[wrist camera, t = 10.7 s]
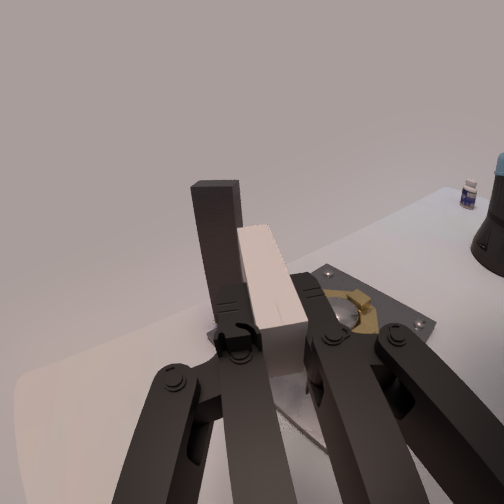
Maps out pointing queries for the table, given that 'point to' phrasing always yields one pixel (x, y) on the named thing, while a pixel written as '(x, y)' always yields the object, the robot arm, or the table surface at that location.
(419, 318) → the flange
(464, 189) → the pill bottle
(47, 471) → the table surface
